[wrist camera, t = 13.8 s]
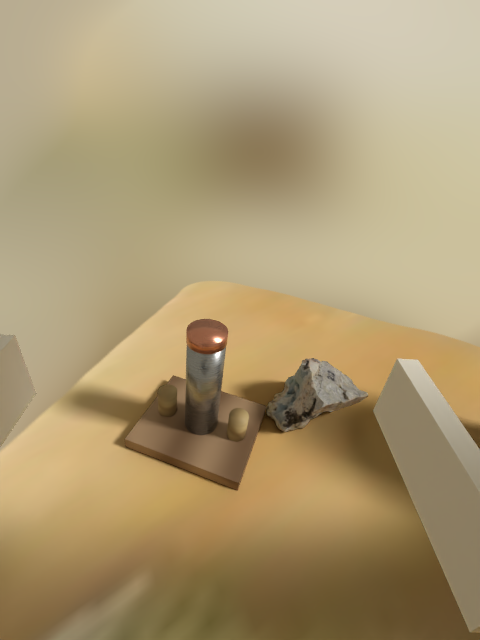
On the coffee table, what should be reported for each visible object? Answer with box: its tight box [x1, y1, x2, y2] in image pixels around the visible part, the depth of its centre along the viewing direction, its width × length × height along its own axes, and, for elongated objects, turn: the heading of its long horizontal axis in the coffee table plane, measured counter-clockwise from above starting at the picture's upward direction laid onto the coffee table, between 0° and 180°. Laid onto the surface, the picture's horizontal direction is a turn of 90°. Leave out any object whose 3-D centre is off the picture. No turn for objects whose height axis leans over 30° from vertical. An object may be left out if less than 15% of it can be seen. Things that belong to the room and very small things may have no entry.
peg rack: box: [125, 376, 266, 490], centre depth 35 cm, size 12×10×4 cm
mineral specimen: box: [266, 358, 368, 432], centre depth 38 cm, size 10×8×10 cm
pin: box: [185, 319, 228, 435], centre depth 32 cm, size 4×4×12 cm
